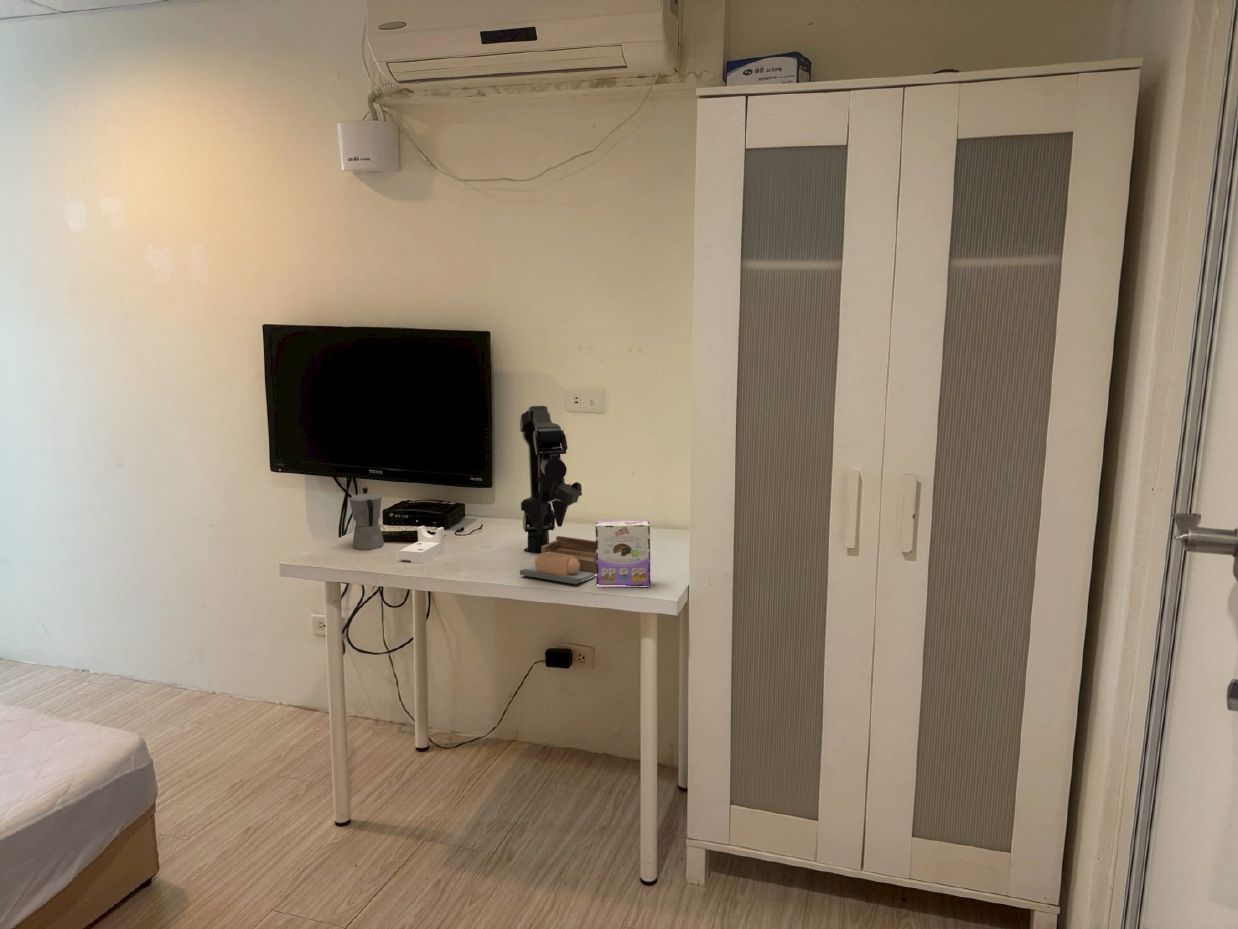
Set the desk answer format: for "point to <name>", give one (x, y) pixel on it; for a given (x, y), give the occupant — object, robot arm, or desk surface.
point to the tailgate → (571, 578)
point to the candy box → (623, 553)
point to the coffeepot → (366, 521)
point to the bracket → (424, 546)
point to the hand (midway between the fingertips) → (550, 530)
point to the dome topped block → (557, 563)
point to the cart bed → (575, 551)
